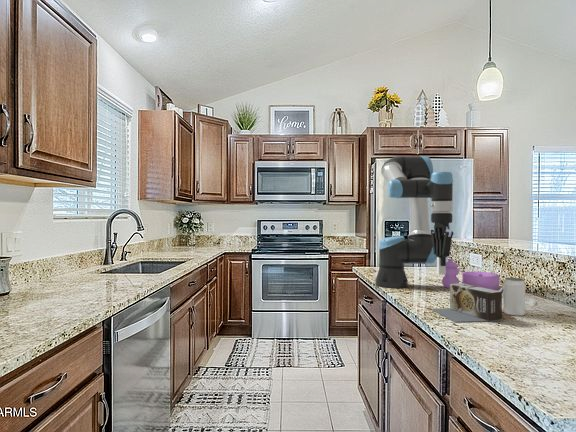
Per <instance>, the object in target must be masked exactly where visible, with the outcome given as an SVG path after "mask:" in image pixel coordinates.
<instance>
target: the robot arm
mask: <svg viewBox="0 0 576 432" xmlns="http://www.w3.org/2000/svg"><path fill="white" fill-rule="evenodd" d="M433 167H434V166H433V162H432V160H431V158H430V157H429V156H427V155H426V156H424V155H416V156H415V155H411V156H410V155H407V156H400V155H399V156H393V157H391V158H389V159H388V160H386V161H385V162H384V163H383V165H382V167H381V174H382V177H383V178H384V179H385V180H386V181H388V182H387V184H388V185H387V195H388V197H390V198H391V199H392V198H393V199H408V200H409V201H408V202H409V221H410V233H409V234H408V235H407V238H405V236H403V235H399V236H386V237H383V238H381V239H379V242H378V244H379V245H378V250H379V252H378V262H379V264H378V271H377V273H376V274H377V275H376V277H375V283H374V284H375V286H377V287H382V288H387V289H388V288H389V289H390V288H391V289H398V288H399V289H402V288H408V287H409V281H408V278H407V274H406V272H405V264H408V265H409V264H410V265H411V264H413V265H415V264H419V265H421V264H423V265H429V264H430V265H432V264H434V263H435V262H436V275H439V276H441V275H442V276H443V275H444V274H446V262H447V258H448V257H450V253H451V248H452V240H453V236H454V231H451V230H450V224H451V223H453V213H452V212H453V204H454V203H453V186H454V184H453V183H454V179H453V177H454V176H453V173H452V172H451V171H434V168H433ZM428 198H429V199H431V202H430V203H431V204H430V207H431V210H430V211H431V215H430V214H429V199H428ZM429 218H430V219H429ZM430 222H431V223H433V224H434V226H433V229H430Z"/></svg>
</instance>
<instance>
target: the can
mask: <svg viewBox="0 0 576 432" xmlns="http://www.w3.org/2000/svg"><path fill="white" fill-rule="evenodd" d="M503 287H504V290H503V304H502V311H503V313H505V314H507V315H510V316H512V317H523V316H525V314H526V305H525V298H526V282H525V279H523V278H518V277H505V278H504V281H503Z"/></svg>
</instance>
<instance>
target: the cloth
mask: <svg viewBox="0 0 576 432" xmlns="http://www.w3.org/2000/svg"><path fill="white" fill-rule="evenodd" d="M503 290H504V286H502V287H501V288H499V290H498V291H501V292H502V305H503ZM536 303H537V302H536V300H535V299H531V298H526V297H525V306H531V307H535V306H536Z"/></svg>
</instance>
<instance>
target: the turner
mask: <svg viewBox="0 0 576 432" xmlns="http://www.w3.org/2000/svg"><path fill="white" fill-rule="evenodd" d="M501 319H502V320H515V319H516V318H515V316H513V315H508V314H505V313H504V312H502V318H501Z"/></svg>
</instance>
